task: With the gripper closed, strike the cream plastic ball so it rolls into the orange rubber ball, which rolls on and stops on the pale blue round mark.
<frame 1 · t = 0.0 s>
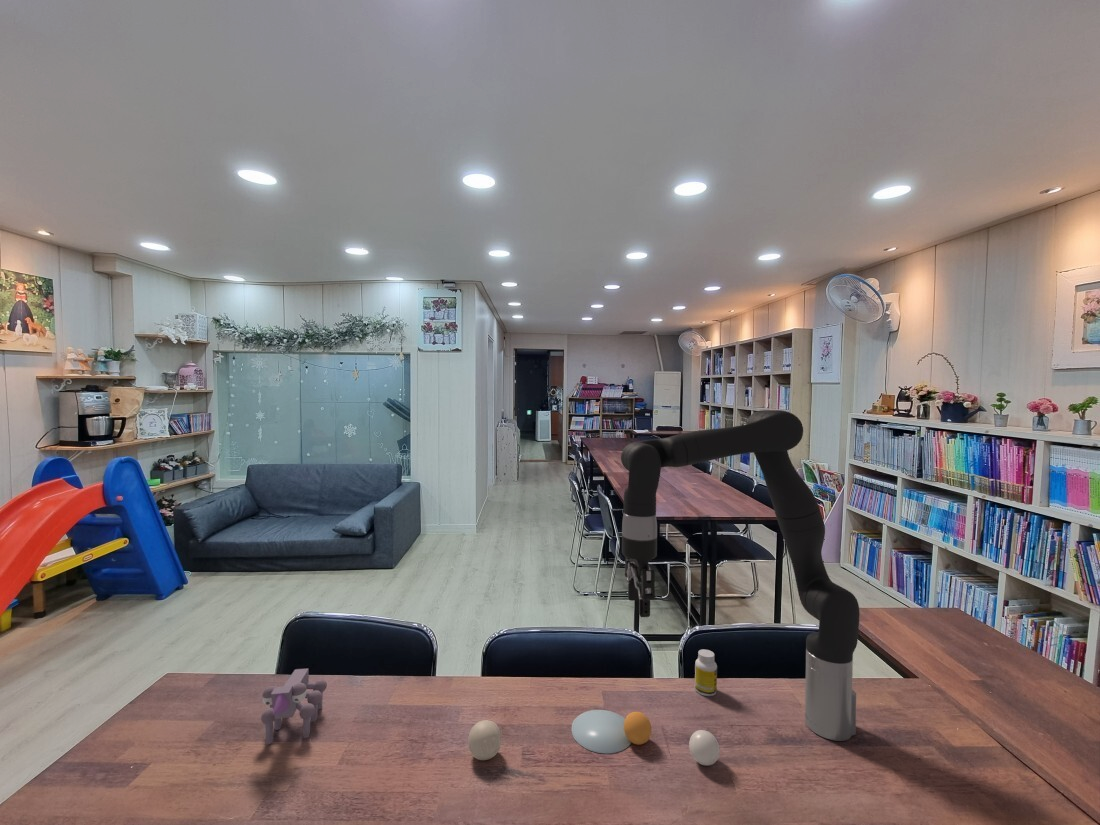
hand: (638, 607, 103), 29 cm above the table, tool pointing down, fingers open, 8 cm apart
beige egg: (485, 757, 98), on the table
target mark: (602, 730, 106), on the table
cue ball: (704, 747, 97), on the table
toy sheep: (290, 736, 103), on the table
object ball: (637, 727, 103), on the table
supplement bottle: (705, 691, 121), on the table
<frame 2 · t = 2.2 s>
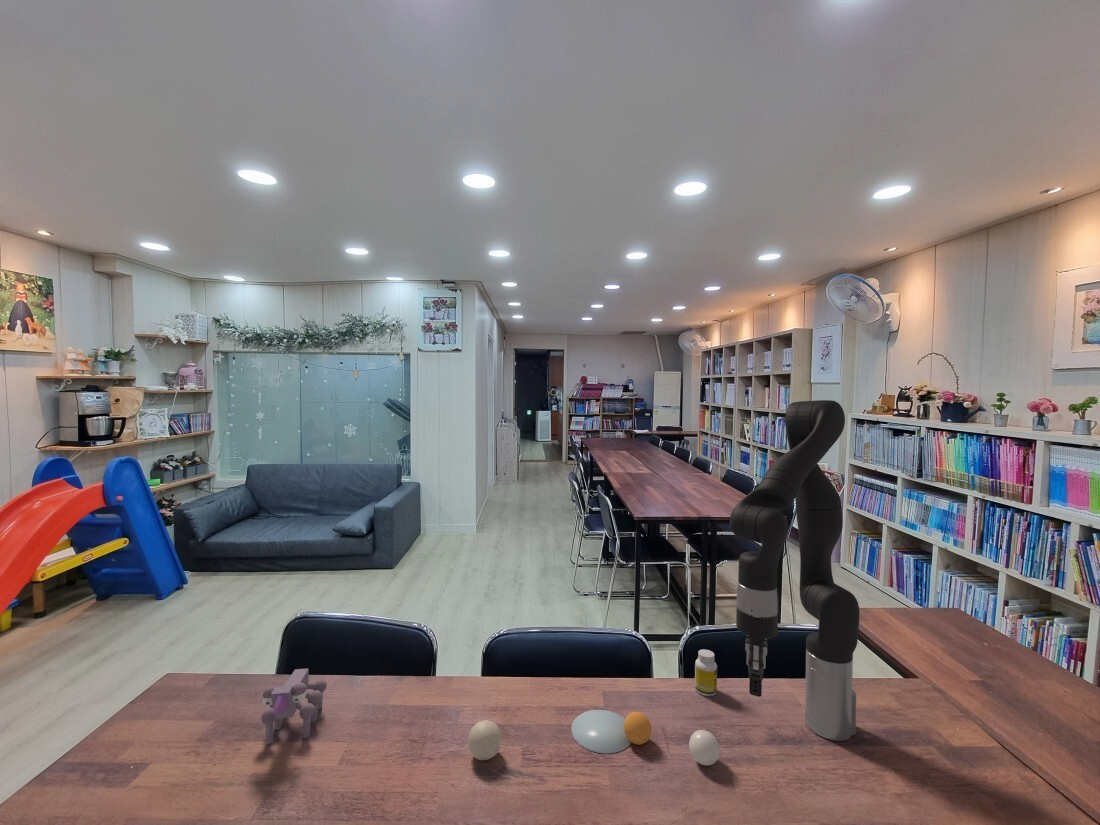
hand: (755, 693, 93), 17 cm above the table, tool pointing down, fingers closed
nothing on the table moved.
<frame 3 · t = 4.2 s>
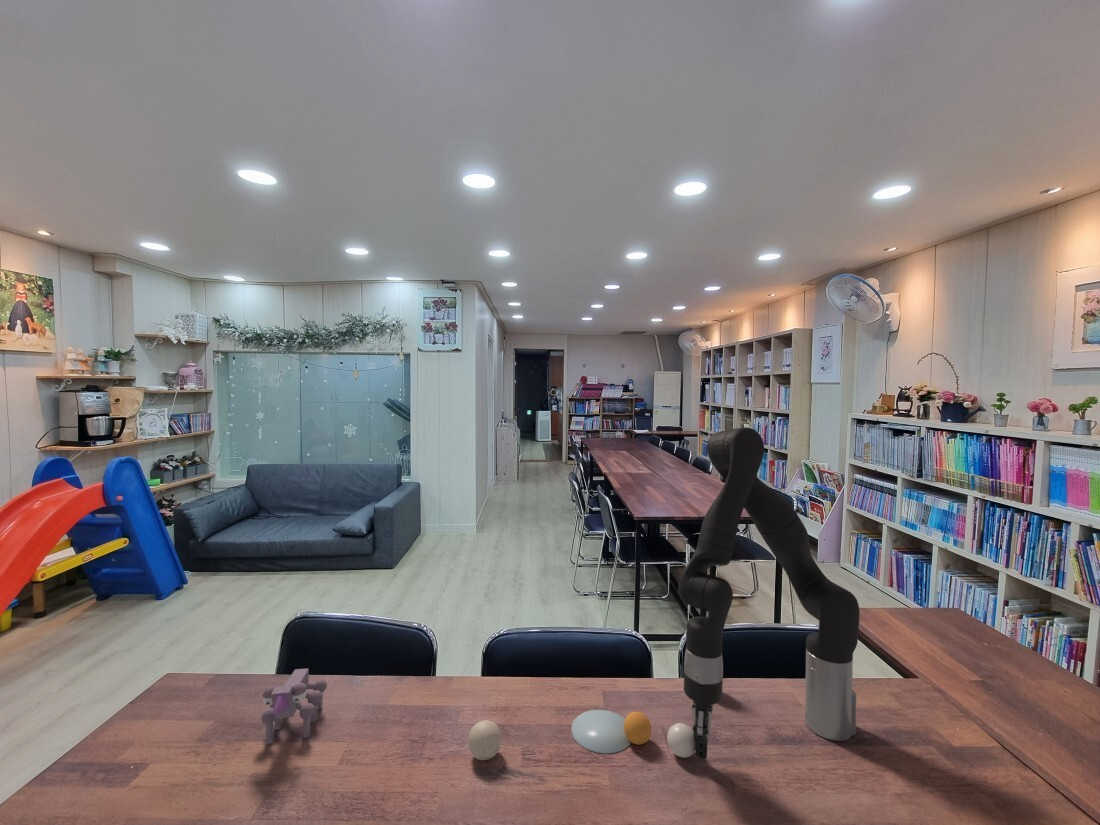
hand: (701, 755, 96), 2 cm above the table, tool pointing down, fingers closed
cue ball: (682, 740, 99), on the table
everything else where it was.
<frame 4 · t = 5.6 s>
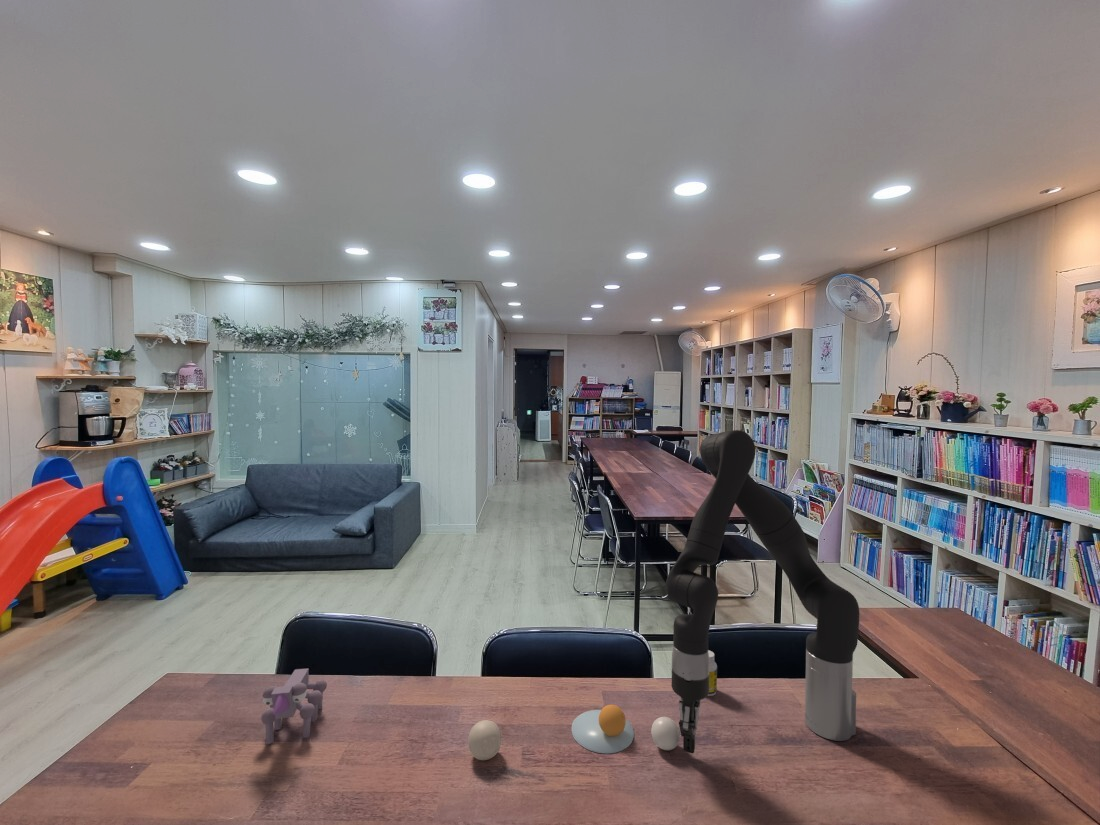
hand: (689, 750, 98), 1 cm above the table, tool pointing down, fingers closed
cue ball: (665, 733, 101), on the table
object ball: (612, 720, 105), on the table
everything else where it was.
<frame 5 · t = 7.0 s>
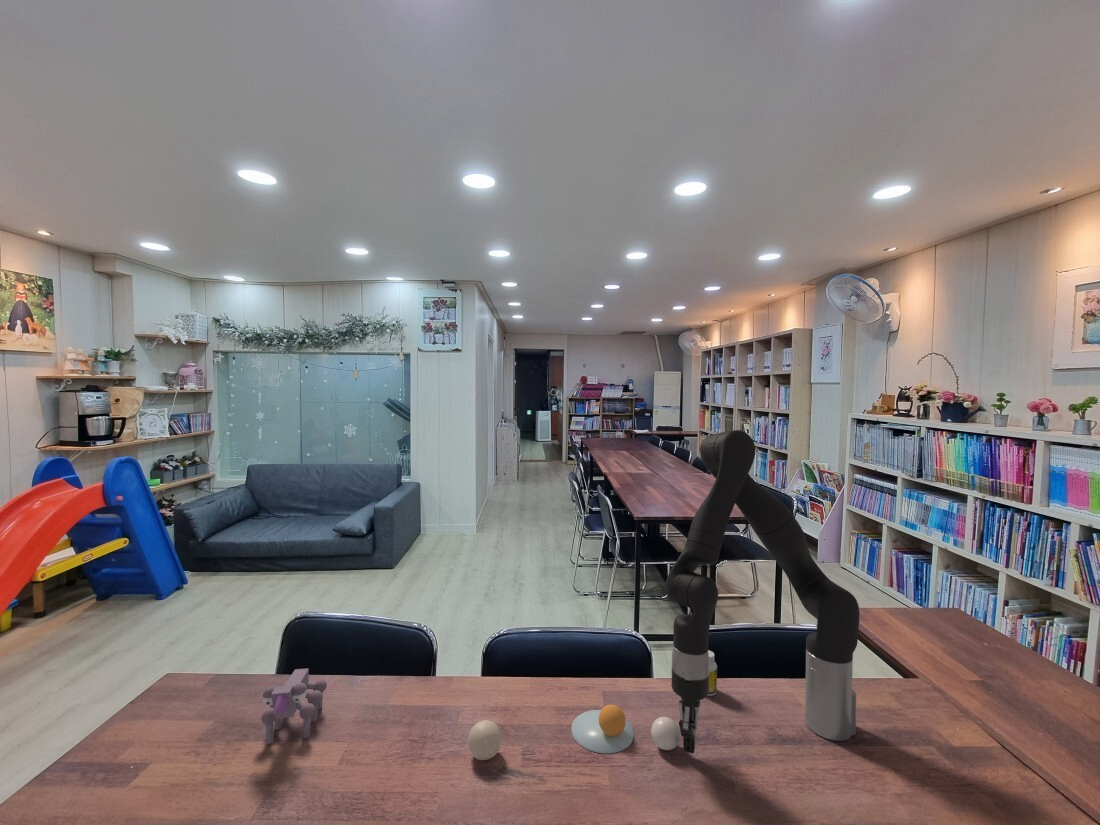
hand: (689, 750, 98), 1 cm above the table, tool pointing down, fingers closed
nothing on the table moved.
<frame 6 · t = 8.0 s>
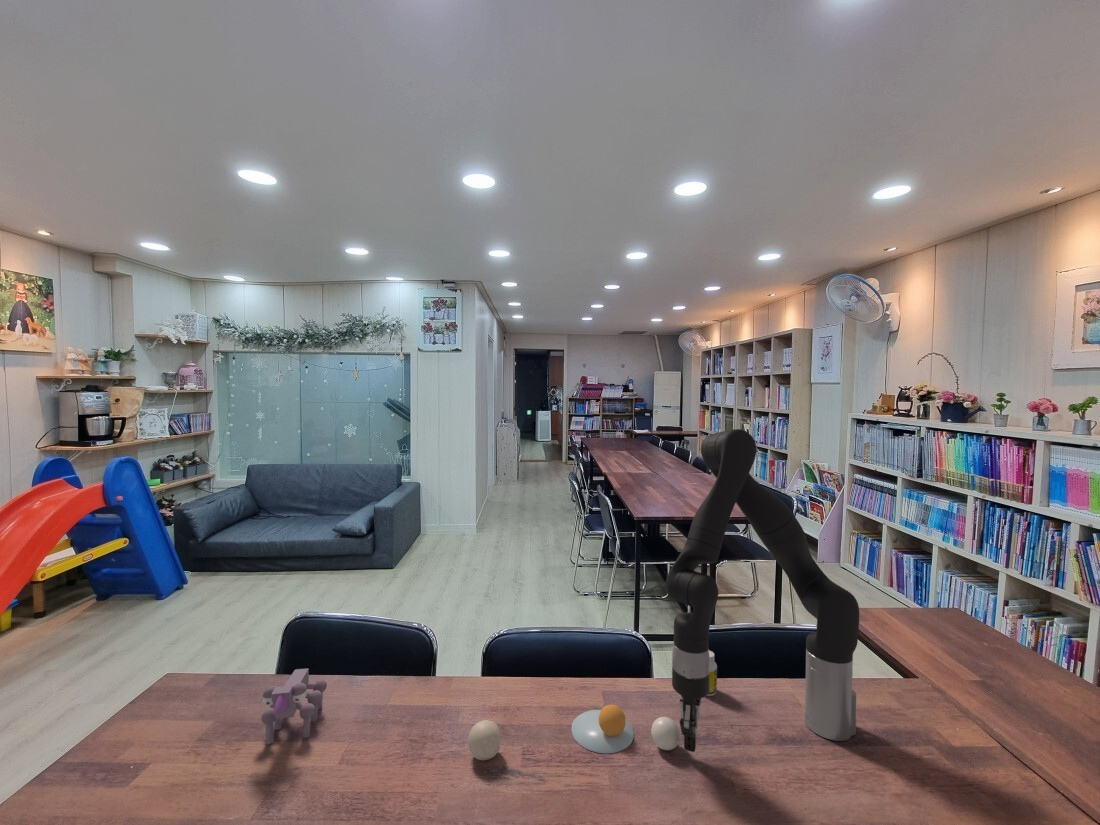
hand: (690, 748, 98), 2 cm above the table, tool pointing down, fingers closed
nothing on the table moved.
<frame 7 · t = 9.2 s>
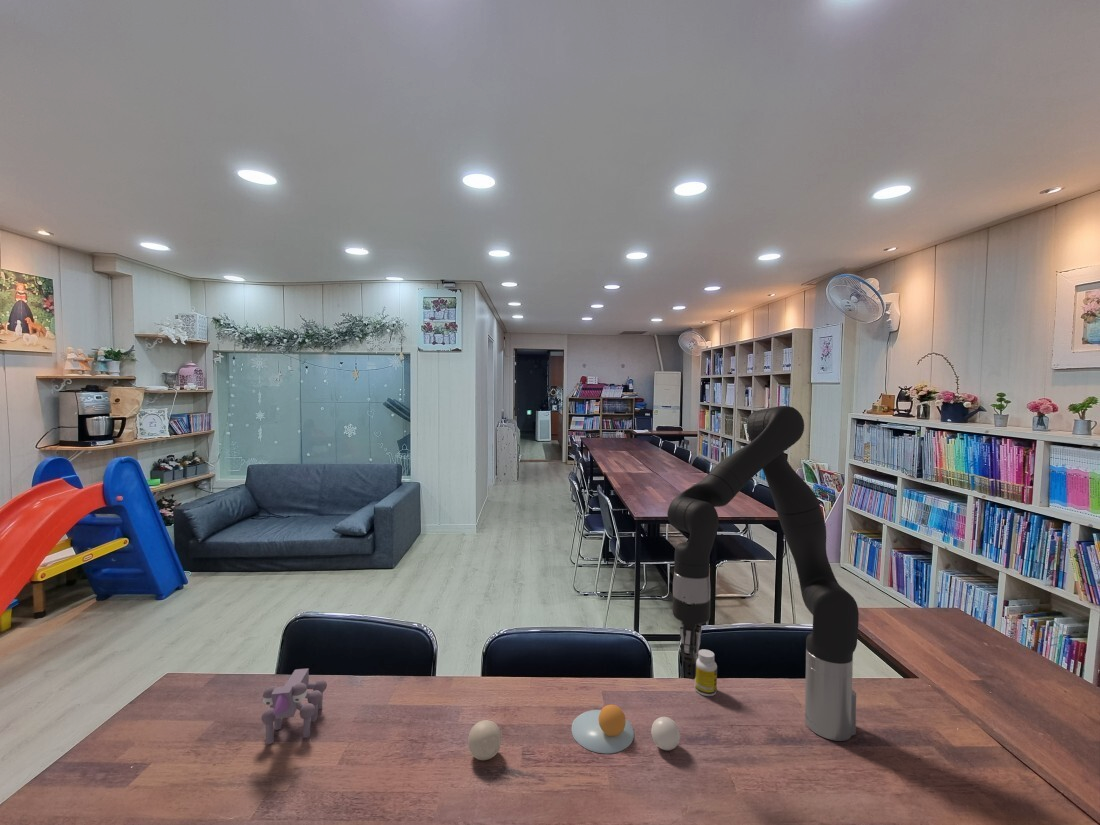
hand: (690, 676, 98), 17 cm above the table, tool pointing down, fingers closed
nothing on the table moved.
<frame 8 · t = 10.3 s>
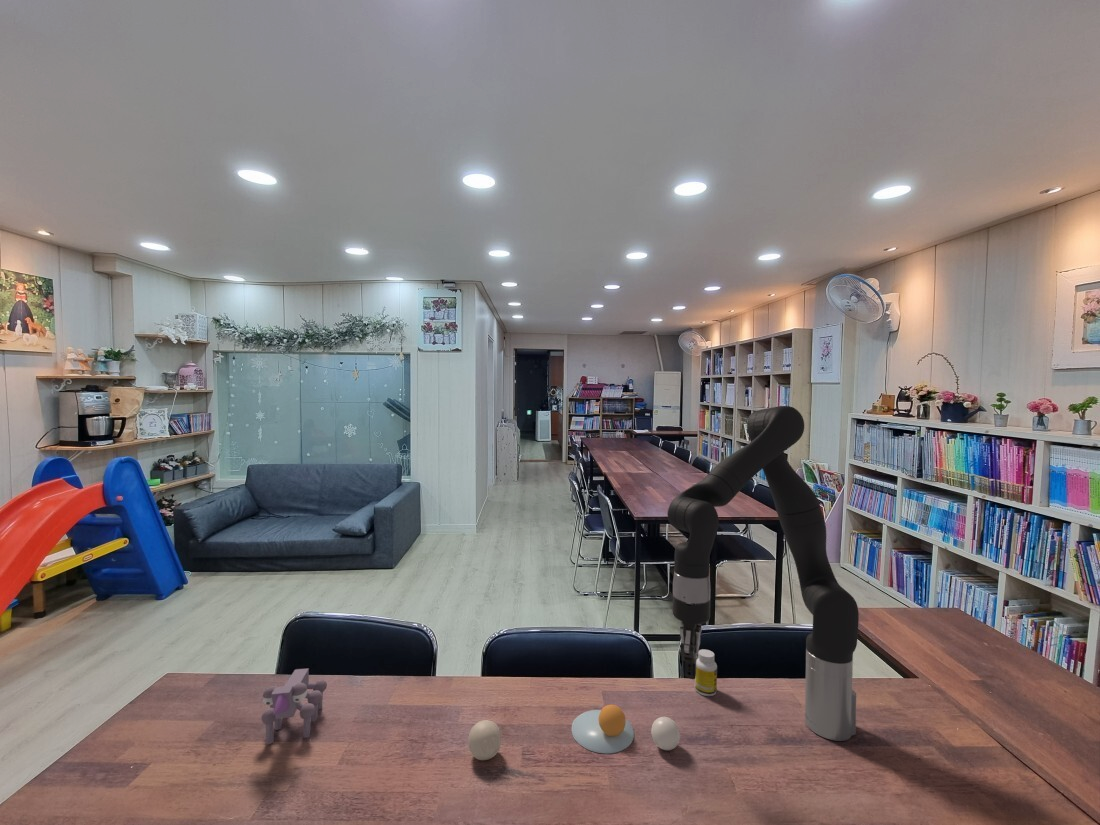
hand: (690, 676, 98), 17 cm above the table, tool pointing down, fingers closed
nothing on the table moved.
at the end: object ball 2.2 cm from the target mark (horizontally); object ball never touched the robot; cue ball first touched object ball at 4.4 s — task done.
